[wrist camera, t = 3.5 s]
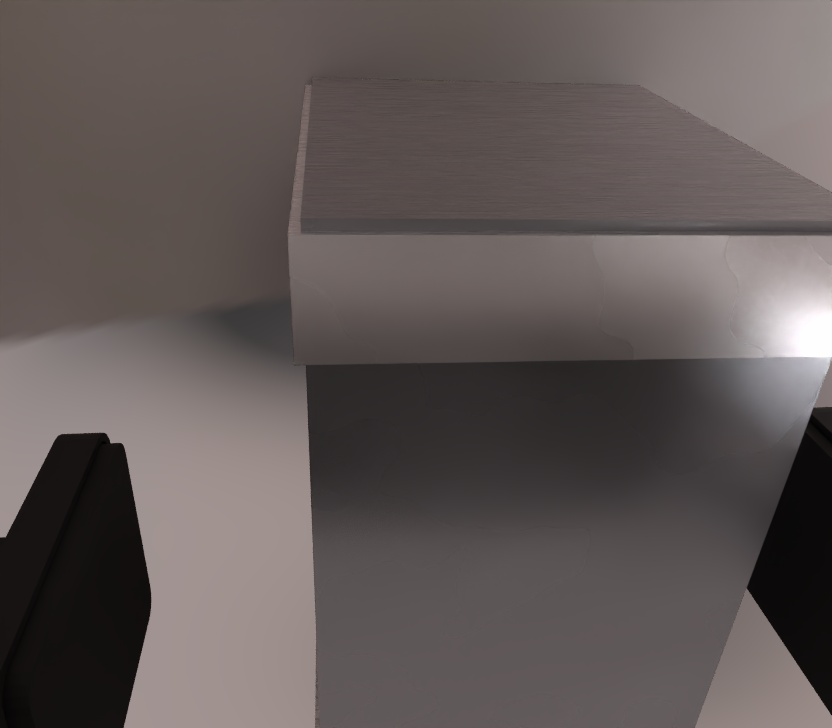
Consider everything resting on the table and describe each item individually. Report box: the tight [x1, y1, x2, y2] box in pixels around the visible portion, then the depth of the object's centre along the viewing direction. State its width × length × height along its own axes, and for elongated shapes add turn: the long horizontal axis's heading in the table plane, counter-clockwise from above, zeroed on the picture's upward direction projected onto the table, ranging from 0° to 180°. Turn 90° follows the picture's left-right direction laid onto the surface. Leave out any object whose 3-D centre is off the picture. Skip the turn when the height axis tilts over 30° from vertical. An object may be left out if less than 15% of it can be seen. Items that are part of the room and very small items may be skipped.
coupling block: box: [288, 77, 832, 728], centre depth 11 cm, size 5×9×6 cm, turn 178°
